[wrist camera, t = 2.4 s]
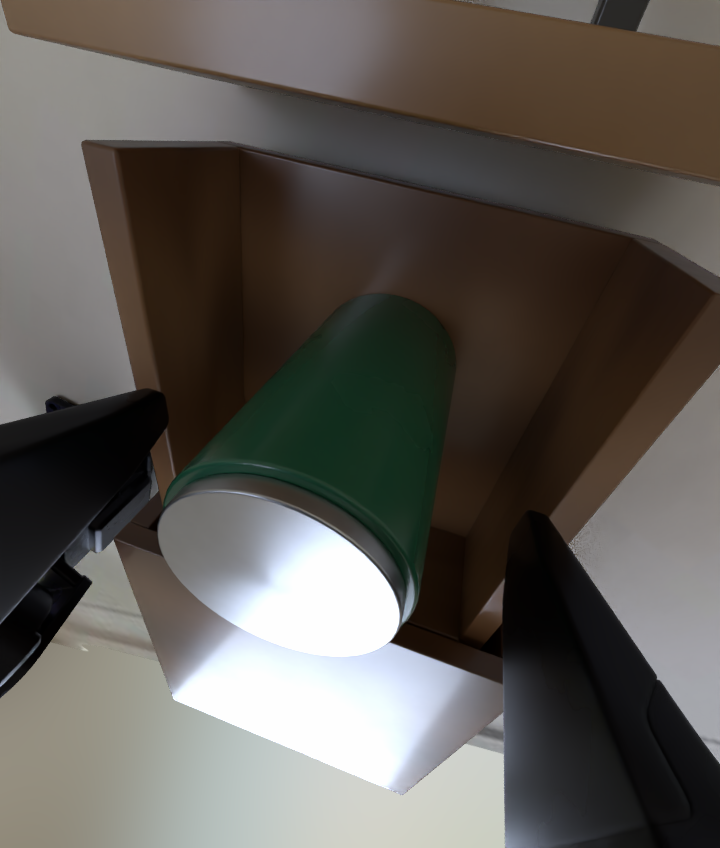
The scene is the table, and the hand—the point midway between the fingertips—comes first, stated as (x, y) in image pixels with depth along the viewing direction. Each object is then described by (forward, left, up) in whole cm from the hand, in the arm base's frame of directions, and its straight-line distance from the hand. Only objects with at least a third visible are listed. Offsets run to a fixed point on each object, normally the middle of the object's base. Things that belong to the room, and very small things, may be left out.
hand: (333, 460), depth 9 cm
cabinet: (+4, -14, -7) cm, 16 cm away
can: (0, 0, -5) cm, 5 cm away
